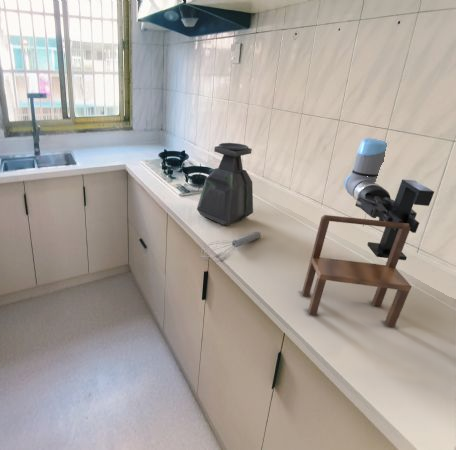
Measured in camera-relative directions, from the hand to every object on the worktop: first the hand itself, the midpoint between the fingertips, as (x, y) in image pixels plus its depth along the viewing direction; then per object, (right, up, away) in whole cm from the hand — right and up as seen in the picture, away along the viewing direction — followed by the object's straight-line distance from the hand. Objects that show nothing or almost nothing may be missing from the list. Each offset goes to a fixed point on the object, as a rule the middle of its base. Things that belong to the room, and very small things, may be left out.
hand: (407, 226), depth 83 cm
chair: (-13, -21, +5) cm, 25 cm away
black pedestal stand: (0, -8, +7) cm, 11 cm away
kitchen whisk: (-36, -8, +33) cm, 49 cm away
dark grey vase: (-33, +3, +59) cm, 68 cm away
